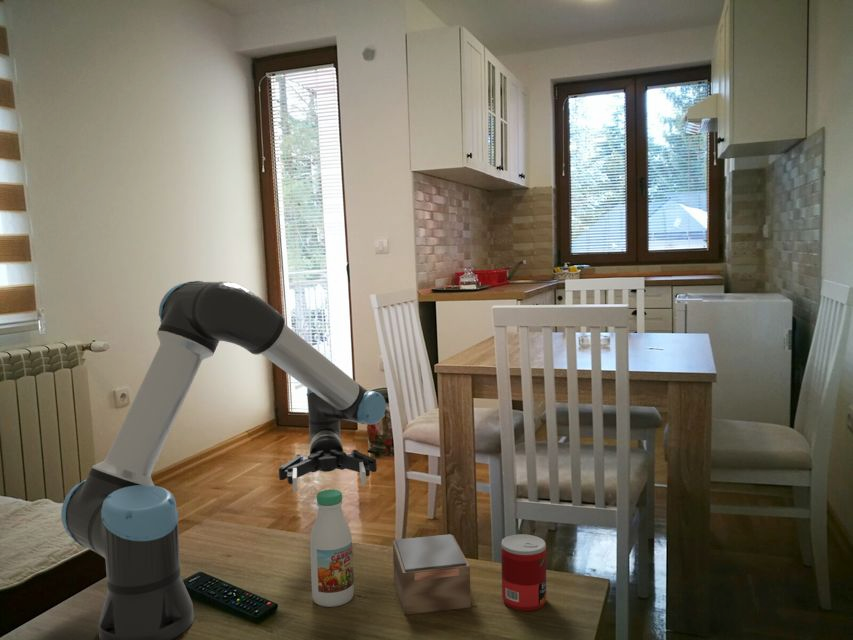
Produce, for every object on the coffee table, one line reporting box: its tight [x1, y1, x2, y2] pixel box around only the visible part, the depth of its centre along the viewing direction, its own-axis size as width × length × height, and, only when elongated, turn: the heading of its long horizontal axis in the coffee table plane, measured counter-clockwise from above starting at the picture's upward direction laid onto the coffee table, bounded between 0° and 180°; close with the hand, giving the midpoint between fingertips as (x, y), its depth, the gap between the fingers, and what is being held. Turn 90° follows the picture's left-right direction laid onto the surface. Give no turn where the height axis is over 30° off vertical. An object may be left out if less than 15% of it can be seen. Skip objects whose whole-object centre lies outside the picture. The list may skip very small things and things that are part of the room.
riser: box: [392, 533, 472, 616], centre depth 125 cm, size 12×14×8 cm
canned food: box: [500, 533, 547, 612], centre depth 121 cm, size 8×8×11 cm
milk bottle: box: [309, 489, 355, 608], centre depth 124 cm, size 8×8×20 cm
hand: (329, 481), depth 133 cm, fingers open, 13 cm apart
